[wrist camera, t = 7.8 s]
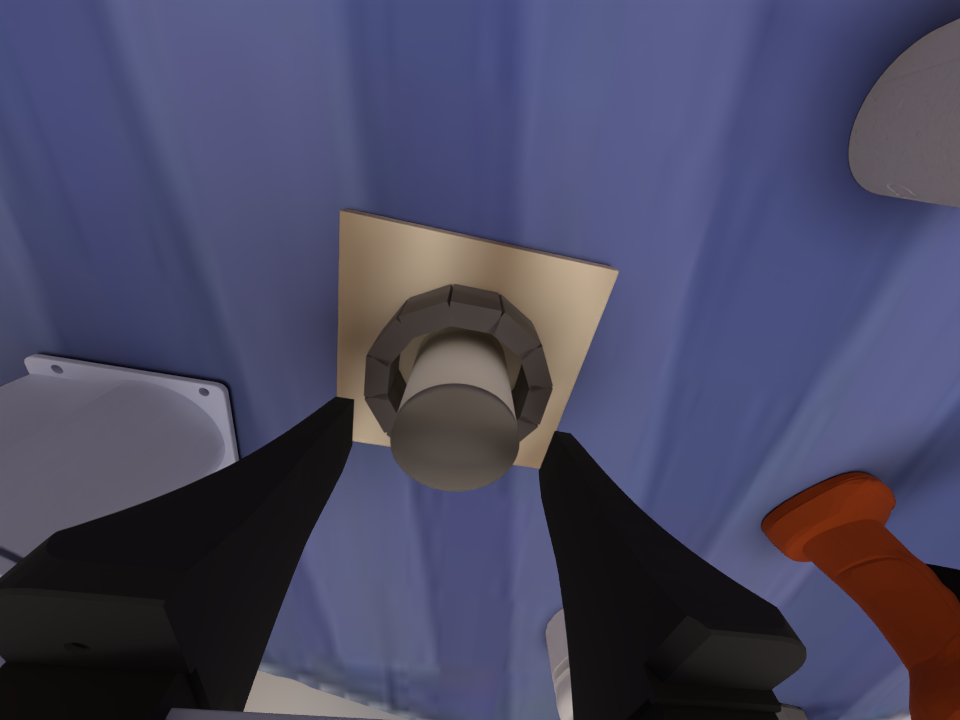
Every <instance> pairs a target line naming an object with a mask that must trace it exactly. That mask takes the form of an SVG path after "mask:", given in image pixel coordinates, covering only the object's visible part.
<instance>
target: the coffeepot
mask: <svg viewBox="0 0 960 720" xmlns="http://www.w3.org/2000/svg"><path fill="white" fill-rule="evenodd" d="M780 705H781V710H782V711H780V712H779V713H776V715H777V717H778V719H779V720H808V719H807V717H806V715H805V713H804V711H803V710H801V709H799V708H797V707H795V706H792V705H787V704H780Z"/></svg>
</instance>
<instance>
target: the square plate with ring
mask: <svg viewBox="0 0 960 720" xmlns="http://www.w3.org/2000/svg"><path fill="white" fill-rule="evenodd" d="M618 273H619V271H618V270H616V269H615V268H613V267H611V266H607V265H603V264H598V263H593V262H589V261H584V260H580V259H575V258H571V257H566V256H562V255H557V254H552V253H548V252H543V251H539V250H534V249H530V248H525V247H520V246H516V245H511V244H507V243H502V242H498V241H493V240H488V239H484V238H479V237H475V236H470V235H466V234H461V233H456V232H452V231H447V230H443V229H438V228H434V227H429V226H425V225H420V224H415V223H411V222H406V221H402V220H397V219H393V218H388V217H383V216H379V215H374V214H370V213H365V212H361V211H356V210H351V209H344V210H340V230H339V291H338V351H337V397H343V398H349V399H354V418H353V440H352V441H356V442H362V443H369V444H376V445H383V446H390V447H391V445H390V436H391V431H392V428H393V424H394V421H395V419H396V416H397V413H398V410H399V407H400V404H401V401H402V398H403V395H404V392H405V389H406V386H407V383H408V380H409V377H410V374H411V371H412V368H413V365H414V362H415V359H416V356H417V353H418V350H419V347H420V345H421V343H422V341H423V340H424V339H425V337H426V336H427V335H428V334H429V333H431V332H434V331H437V330H441V329H444V328H447V327H450V326H453V327H459V328H464V329H469V330H475V331H480V332H485V333H490V334H492V335H494V336H495V337H496V338H497V339H498V341H499V342H500V344H501V346H502V348H503V350H504V354H505V359H506V365H507V371H508V376H509V382H510V388H511V393H512V399H513V405H514V410H515V416H516V422H517V427H518V433H519V440H520V442H519V451H518V455H517V457H516V460H515V462H514V463H513V465H519V466H526V467H532V468H539V469H540V467H541V464H542V462H543V459H544V457H545V454H546V452H547V449H548V446H549V444H550V441H551V439H552V436H553V434H554V431H556V429H557V427H558V424H559V422H560V419H561V417H562V414H563V412H564V409H565V407H566V404H567V402H568V399H569V397H570V394H571V392H572V389H573V387H574V384H575V381H576V379H577V376H578V374H579V371H580V369H581V366H582V364H583V361H584V359H585V356H586V354H587V351H588V349H589V346H590V344H591V341H592V339H593V336H594V334H595V331H596V328H597V326H598V323H599V321H600V318H601V316H602V313H603V311H604V308H605V306H606V303H607V301H608V298H609V296H610V293H611V291H612V288H613V286H614V283H615V281H616V278H617V275H618Z"/></svg>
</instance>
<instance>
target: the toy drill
mask: <svg viewBox="0 0 960 720" xmlns="http://www.w3.org/2000/svg"><path fill="white" fill-rule="evenodd" d="M895 504H896V500H895V497H894V495H893V493H892V491H891V489H890V488H889V487H888V486H886V485H885V484H884V483H882V482H881V481H880V480H879V479H877V478H875V477H873V476H870V475H868V474H866V473H861V472H853V473H847V474H842V475H839V476H837V477H834V478H831V479H829V480H826V481H824V482H822V483H819V484H817V485H815V486H813V487H811V488H809V489H807V490H805V491H804V492H802V493H800V494H798V495H797V496H795V497H793V498H791V499H790V500H788V501H786V502H785V503H783V504H782V505H780V506H779V507H778V508H776V509H775V510H774V511H772V512H771V513H770V514H769V515H768V516H767V517H766V518H765V519H764V521H763V523H762V530H763V532H764V533H765V535H766V536H767V537H768V538H769V540H770V541H771V542H772V543H773V544H774V545H775V546H776V547H777V548H778V549H779V550H780V551H781V552H782V553H783V554H784V555H786V556H787V557H788V558H790V559H792V560H794V561H799V562H809V561H812V562H813V563H814V564H815V565H816V566H817V567H818V568H819V569H820V570H821V571H823V572H824V573H825V574H826V575H827V576H828V577H829V578H830V579H831V580H832V581H834V582H835V583H836V584H837V585H838V586H839V587H840V588H841V589H843V590H844V591H845V592H846V593H847V594H848V595H849V596H850V597H851V598H852V599H853V600H854V601H855V602H856V603H857V604H858V605H859V606H860V607H861V608H862V609H863V611H864V612H865V613H866V614H867V615H868V616H869V617H870V619H871V620H872V621H873V622H874V623H875V624H876V626H877V627H878V628H879V630H880V631H881V632H882V634H883V635H884V636H885V638H886V639H887V641H888V642H889V643H890V645H891V646H892V647H893V649H894V650H895V651H896V653H897V654H898V656H899V657H900V659H901V660H902V662H903V664H904V665H905V667H906V668H907V670H908V671H909V677H910V695H909V709H910V715H911V720H960V570H957V569H952V568H947V567H942V566H937V565H931V564H925V563H923V562H922V561H921V560H919V559H918V558H917V557H915V556H914V555H913V554H912V553H911V552H910V551H909V550H908V549H907V548H906V547H905V546H904V545H903V544H902V543H901V542H900V541H899V540H898V539H897V538H896V537H895V536H894V535H893V534H892V533H890V532H889V531H888V530H887V529H886V528H885V527H884V526H885V524H886V522H887V520H888V518H889V516H890V514H891V510H893V509H894V507H895Z"/></svg>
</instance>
